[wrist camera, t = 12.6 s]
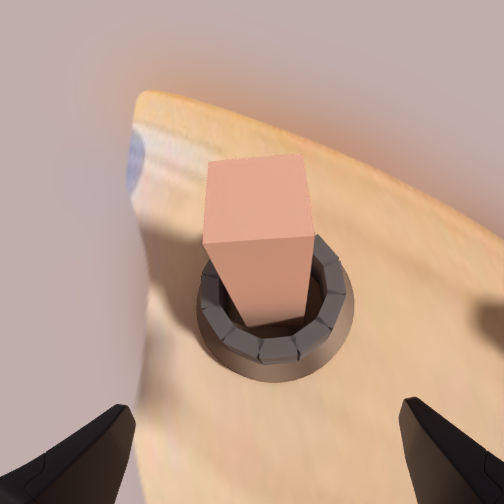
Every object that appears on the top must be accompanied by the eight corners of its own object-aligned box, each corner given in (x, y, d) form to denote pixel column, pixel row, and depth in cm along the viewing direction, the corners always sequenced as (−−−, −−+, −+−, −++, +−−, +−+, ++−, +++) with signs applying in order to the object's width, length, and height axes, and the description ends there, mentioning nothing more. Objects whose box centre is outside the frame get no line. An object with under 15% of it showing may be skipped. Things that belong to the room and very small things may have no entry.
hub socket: (253, 413, 21) (245, 415, 17) (174, 288, 26) (154, 266, 22) (381, 318, 23) (399, 300, 19) (291, 214, 28) (290, 182, 24)
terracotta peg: (302, 325, 23) (315, 235, 11) (247, 328, 23) (202, 243, 11) (298, 275, 24) (302, 153, 13) (247, 278, 25) (208, 162, 13)
